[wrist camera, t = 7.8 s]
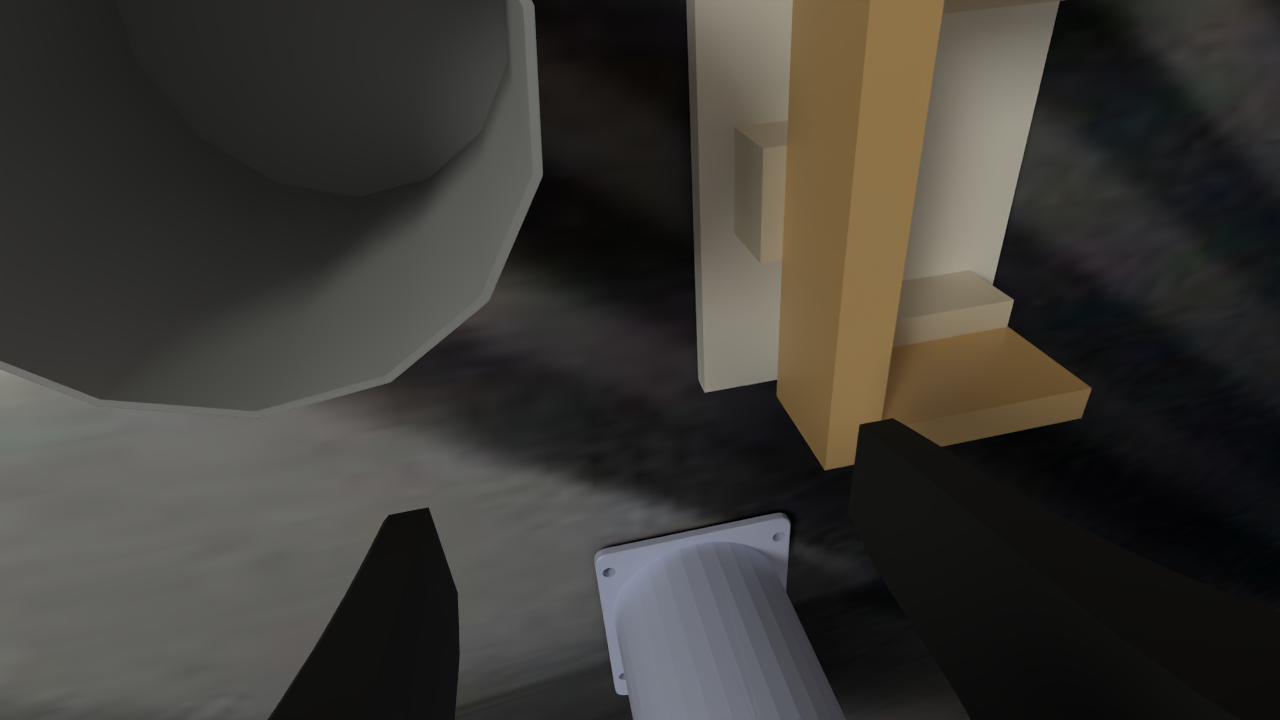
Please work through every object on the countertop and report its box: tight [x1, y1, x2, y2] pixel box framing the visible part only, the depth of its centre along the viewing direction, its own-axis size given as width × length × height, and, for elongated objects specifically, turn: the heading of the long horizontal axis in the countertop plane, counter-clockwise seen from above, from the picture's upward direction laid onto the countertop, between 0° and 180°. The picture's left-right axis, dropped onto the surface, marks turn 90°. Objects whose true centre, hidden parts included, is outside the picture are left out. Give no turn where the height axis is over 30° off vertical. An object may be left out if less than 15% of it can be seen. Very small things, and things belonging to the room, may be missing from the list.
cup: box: [0, 0, 543, 419], centre depth 11 cm, size 8×8×10 cm
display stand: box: [686, 0, 1063, 392], centre depth 19 cm, size 10×14×3 cm
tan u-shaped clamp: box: [777, 0, 1092, 470], centre depth 16 cm, size 7×12×3 cm, turn 5°
